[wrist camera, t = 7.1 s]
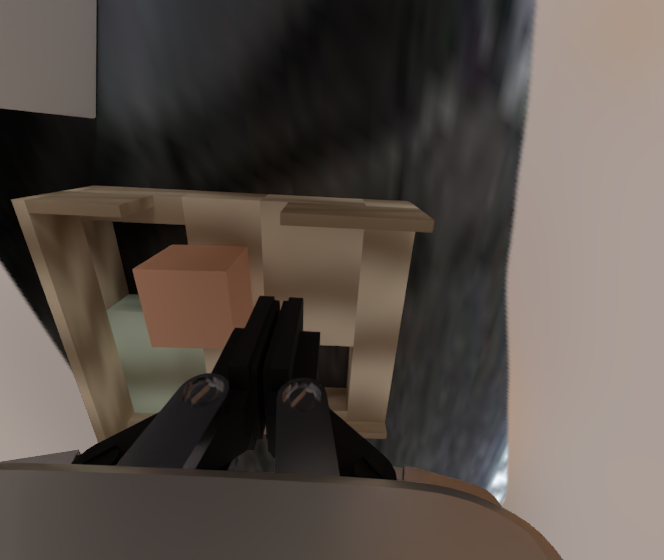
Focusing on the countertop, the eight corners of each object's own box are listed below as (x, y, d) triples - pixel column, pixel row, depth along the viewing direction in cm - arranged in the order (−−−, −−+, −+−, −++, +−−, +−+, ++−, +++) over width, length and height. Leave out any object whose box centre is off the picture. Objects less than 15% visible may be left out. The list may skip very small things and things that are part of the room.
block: (172, 244, 19) (132, 269, 15) (247, 246, 19) (226, 271, 15) (184, 310, 20) (151, 347, 17) (253, 312, 20) (235, 348, 17)
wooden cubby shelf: (94, 185, 20) (11, 199, 15) (409, 201, 20) (434, 220, 15) (146, 394, 26) (102, 453, 21) (379, 403, 27) (390, 463, 22)
